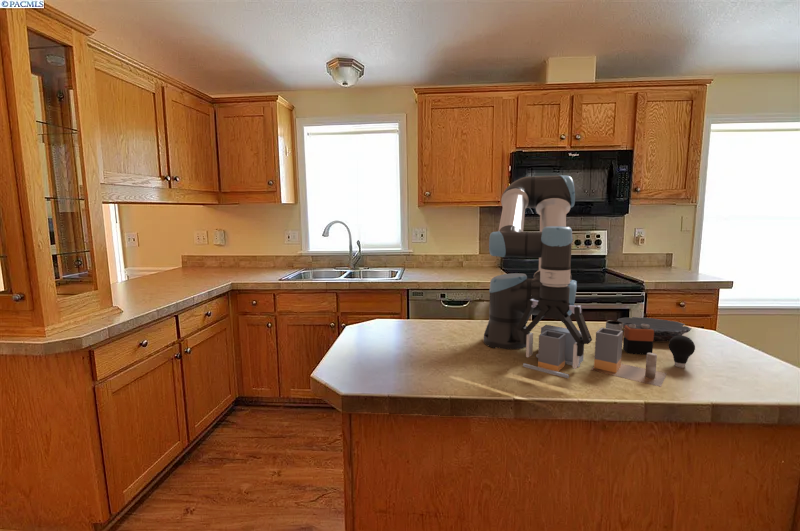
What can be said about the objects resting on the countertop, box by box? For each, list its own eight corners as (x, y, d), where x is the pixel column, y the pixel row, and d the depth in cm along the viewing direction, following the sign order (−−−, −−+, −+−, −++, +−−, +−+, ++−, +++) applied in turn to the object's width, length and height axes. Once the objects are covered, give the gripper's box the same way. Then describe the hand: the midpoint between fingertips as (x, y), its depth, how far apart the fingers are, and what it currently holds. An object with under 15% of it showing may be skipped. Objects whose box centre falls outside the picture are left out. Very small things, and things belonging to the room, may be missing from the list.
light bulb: (661, 367, 110) (664, 333, 109) (680, 366, 110) (683, 332, 109) (677, 376, 104) (680, 340, 103) (698, 375, 105) (701, 339, 103)
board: (612, 338, 135) (613, 323, 134) (619, 325, 153) (620, 312, 152) (691, 350, 122) (693, 334, 122) (689, 335, 140) (690, 321, 140)
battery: (652, 360, 115) (655, 327, 114) (627, 358, 117) (629, 326, 115) (646, 354, 120) (648, 323, 118) (622, 353, 121) (624, 322, 120)
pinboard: (590, 375, 106) (591, 348, 104) (600, 363, 113) (601, 338, 112) (660, 392, 95) (663, 363, 94) (666, 378, 103) (668, 351, 102)
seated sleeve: (594, 367, 107) (596, 332, 105) (599, 361, 111) (601, 327, 109) (616, 372, 103) (618, 336, 102) (620, 366, 107) (623, 331, 106)
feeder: (522, 371, 109) (523, 336, 107) (543, 356, 120) (544, 324, 118) (567, 383, 101) (569, 346, 99) (584, 365, 112) (586, 331, 111)
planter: (619, 353, 121) (621, 320, 120) (622, 358, 117) (624, 324, 116) (603, 351, 123) (604, 319, 121) (605, 356, 118) (607, 323, 117)
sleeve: (537, 370, 108) (539, 335, 107) (545, 364, 112) (546, 330, 111) (557, 375, 105) (559, 339, 103) (564, 368, 109) (566, 334, 107)
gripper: (506, 281, 110) (504, 354, 113) (600, 292, 94) (595, 377, 97) (517, 277, 116) (515, 347, 119) (608, 287, 100) (603, 367, 103)
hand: (551, 361), depth 108 cm, fingers open, 12 cm apart
